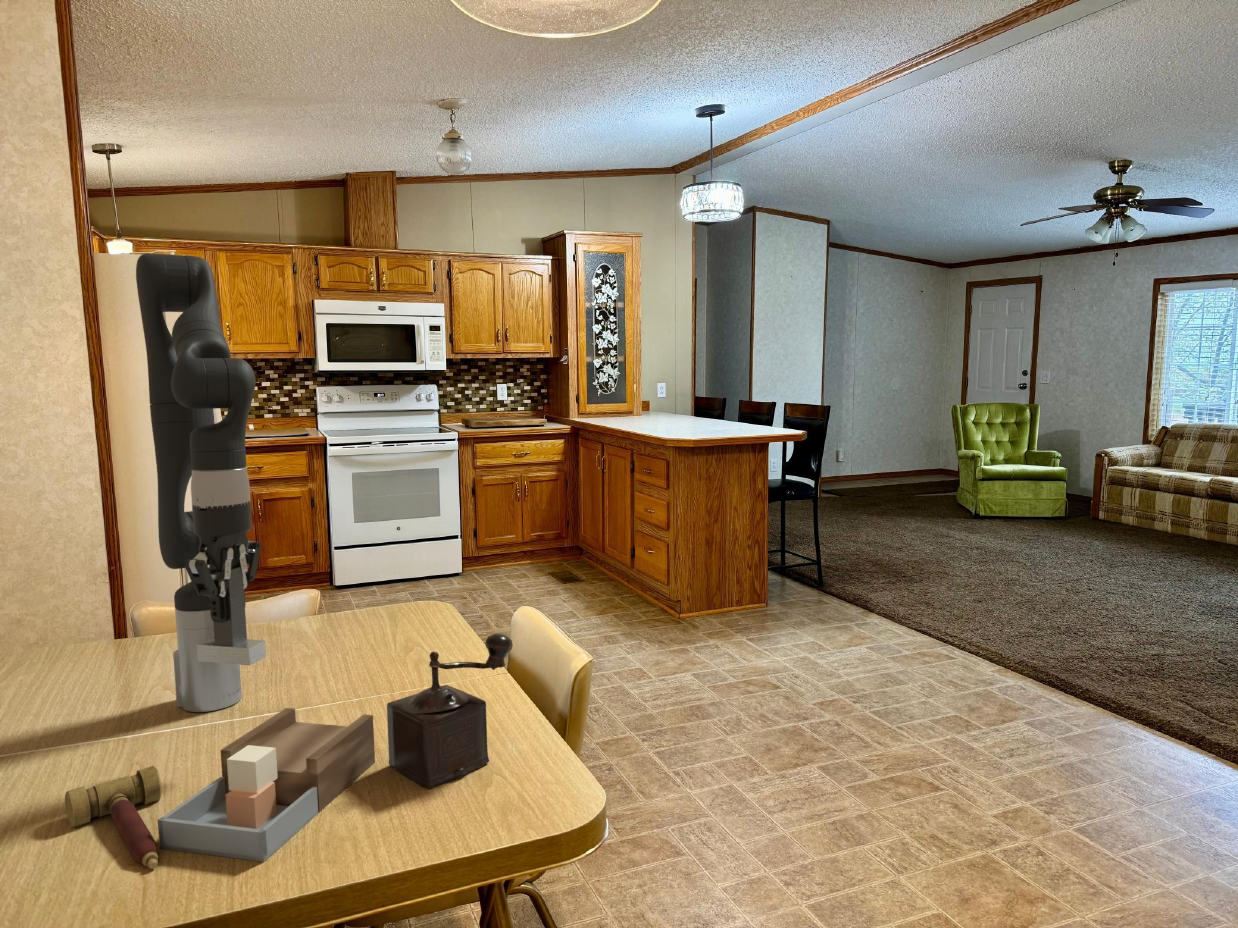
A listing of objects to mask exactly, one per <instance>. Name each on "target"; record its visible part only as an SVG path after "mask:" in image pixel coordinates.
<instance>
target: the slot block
mask: <svg viewBox="0 0 1238 928" xmlns="http://www.w3.org/2000/svg"><path fill="white" fill-rule="evenodd" d="M296 719H297V717H296V708H291V707H290V708H289V707H285V708H284V709H282V710H280V711H279V712H277V713H276V714H274V715H273V716H271V717H270V718H269V719H266V720H265V721H264V722H262V723H261V724H259V725H257V726H256V727H254V728H253V729H251V730H249V731H248V732H246V733H245V734H243V735H242V736H240V737H238V738H237V739H235V740H234V741H232V742H231V743H229V744H228V745H226V746H224V747H223V748H221V749H220V750H219V751H220V763H221V765H220V766H221V777H225V790H226V794H227V793H229V792H230V791H231V790H229V783H228V769H227V759H228V758H230V757H231V756H233V755H234V754H236V753H237V752H239V751H240V750H242V749H243V748H245V747H246V746H248V745H252V746H262V747H272V748H276V759H277V775H278V778H277V779H276V780H274V781H273V782H275V793H276V805H282V806H290V805H291V804H292V803H293V802H295V801H296V800H297V799H298V798H299V797H301V796H302V795H303V794H304V793H305V792H307V791H308V790H309V789H310V788H311V787H317V800H318V813H320V812H322V810H324V809H325V808H326V807H327V806H328V805H329V804H331V803H332V802H333V801H334V800H335V799H336V798H338V796H340V794H341V793H342V792H344V791H345V790H346V789H347V788H348V787H350V785H351V784H352V783H354V782H355V781H356V780H357V779H358V778H360V776H361V775H362V774H363V773H365V772H366V771H367V770H368V769H369V768H370V767H372V766H373V764H375V763H376V753H375V752H376V751H375V748H376V747H375V732H374V730H375V729H374V715H373V714H362V715H360V716H359V717H358V718H357V719H356V720H354V721H353V722H351V723H350V724H349V725H347V726H345V725H336V724H335V725H334V724H325V723H323V724H322V723H313V722H311V723H310V722H300V721H297V720H296Z"/></svg>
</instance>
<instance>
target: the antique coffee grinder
mask: <svg viewBox="0 0 1238 928" xmlns="http://www.w3.org/2000/svg"><path fill="white" fill-rule="evenodd" d="M485 647H486V649H487V652H488V657H487V660H486V661H485V662H474V661H456V662H447V663H446V662H445V663H443V662H442V663H441V662H440V660H439V658H440V657H439V656H440V655H439V653H438V652H437V651H431V652H430V654H429V660H430V661H429V664H428V666H429V667H430V668H431V679H432V681H431V683H432V684H431V686H430V687H428V688H426V689H425V688H424V689H423V690H421V691H419V692H418V693H415V694H411V695H408V696H405V697H402V698H399V699H396V700H393V701H389V702H387V704H386V717H387V719H386V720H387V721H386V722H387V743H388V764H389V767H390V768H392V769H393V770H394V771H395V772H398V773H399V774H401V775H402V776H403V777H406V778H407V779H409V780H410V781H412V782H414V783H415V784H417V785H418V786H420V787H422V788H425V789H428V790H429V789H432V788H435V787H437V786H440V785H443V784H446V783H448V782H451V781H453V780H456V779H458V778H459V779H460V778H461V777H463V776H465V775H467V774H469V773H471V772H473V771H475V770H477V769H479V768H481V767H483V766H484V765H486V764H488V763H489V762H490V758H489V754H488V753H489V751H488V726H487V702H486V700H484V699H482V698H481V697H477V696H475V695H472V694H471V693H468V692H466V691H463V690H461V689H459V688H456V687H453V686H450V685H448V684H444V685H440V680H439V679H440V678H439V669H443V670H453V669H468V668H469V669H481V670H486V669H491V670H493V671H495V670H496V669H498V668H500V669H501V668H504V667H506V663H505V658H506V656H507V655H508V654H509V653H510V652H511V651H512V650H513V647H514V646H513V641H512V639H511V638H510V637H508V635H505V634H504V633H503V634H502V633H494V634H491V635H489V636H487V638H486V639H485Z"/></svg>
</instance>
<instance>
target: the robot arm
mask: <svg viewBox="0 0 1238 928" xmlns="http://www.w3.org/2000/svg"><path fill="white" fill-rule="evenodd" d="M213 273H214V272H213V270H212V268H211V265H210V264H209V262H208V261H207V260H205V258H203V257H200V256H196V255H187V254H185V255H184V254H167V253H142V254H141V255H140V256H139V257H137V260H136V265H135V279H136V280H135V281H136V289H137V297H138V304H139V311H140V316H141V323H142V327H143V328H142V331H143V334H144V335H143V337H144V343H145V351H146V360H147V361H146V362H147V376H148V397H149V412H150V422H151V428H152V429H151V430H152V437H153V438H152V439H153V445H154V454H155V455H154V456H155V464H156V476H157V518H158V519H157V521H158V522H157V525H158V527H157V529H158V544H159V550H160V556H161V560H162V561H163V563H164V564H165V566H166V568H167V567H168V568H169V569H172V570H179V569H185V570H186V572H187V573H186V574H187V575H188V576H189V579H190V582H187V583H186V584H184V585H182V586H180V587H179V588H178V589H177V590H175V593H174V595H173V598H174V599H173V600H174V601H173V602H174V603H173V604H174V613H175V626H176V628H175V629H176V637H177V638H176V639H177V640H176V641H177V650H175V651H173V653H172V657H173V670H174V673H173V674H174V686H175V697H176V698H175V699H176V707H181V708H182V709H183V710H184V711H186V712H193V713H204V712H205V713H206V712H214V711H218V710H222V709H225V708H228V707H231V706H233V705H235V704H237V703H239V701H241V700H242V698H243V695H242V680H241V665H237V664H225V663H213V662H200V661H198V657H197V644H199V643H201V642H203V641H205V640H208V639H210V638H212V637H214V624H213V622H220V623H224V622H226V621H228V605H227V596H225V595H226V591H227V580H228V579H230V575H231V569H232V568H234V567H237V566H238V567H241V572H242V574H243V584H244V600H245V601H246V591H245V589H247V586H248V583H250V582H254V581H255V577H256V573H257V570H258V564H259V559H260V555H261V550H262V542H260V541H254V540H253V541H252V540H249V537H248V535H247V533H248V532H250V531H251V529H252V528H253V522H252V520H253V519H252V505H251V504H252V503H251V491H250V490H251V487H250V485H251V484H250V479H249V474H248V468H247V453H246V452H247V451H246V430H247V424H248V418H249V413H250V409H251V406H252V402H253V399H254V394H255V389H256V381H257V380H256V376H255V372H254V369H253V368H252V366H251V365H250V363H248V362H247V361H246V360H244V359H242V358H238V357H237V358H236V357H234V358H233V357H231V356H232V355H231V349H230V346H229V344H228V341H227V340H226V339H227V338H226V337H225V335H224V332H223V329H222V324H221V319H220V317H221V316H220V307H219V300H218V294H217V287H216V282H215V277H214V274H213ZM164 313H181V314H180V315H179V316H178V318H177V319H175V321H174V323H173V326H172V328H171V329H172V331H171V332H170V330H169V328H168V324H167V323H166V319H165V316H164ZM214 409H227V413H226V414H225V416H224V418H223V419H222V420H220V421H219V422H215V416H214V415H215V414H214ZM189 482H190V494H191V495H190V496H191V498H190V499H191V509H192V510H190V511H185V502H186V494H187V489H188V485H189ZM212 572H222V573H221V574H213V573H212ZM215 580H218V588H216V585H215ZM245 607H246V603H245Z"/></svg>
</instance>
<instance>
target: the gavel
mask: <svg viewBox="0 0 1238 928" xmlns="http://www.w3.org/2000/svg"><path fill="white" fill-rule="evenodd" d="M161 798H162V782H161V778H160V774H159V771H158V769H157V767H156V766H155V765H152V766H149V767H144V768H141V769H138V770H136V773H135V774H134V775H124V776H122V777H119V778H115V779H113V780H109V781H106V782H102V783H99V784H96V785H93V786H92V787H90V788H86V786H85V785H83V786H80V787H76V788H73V789H69V790H67V791H66V792H65V794H64V805H65V806H64V807H65V814H66V818H67V822H68V821H69V822H68V824H69V823H70V824H69V826H70V825H71V826H70V827H71V828H73V827H74V828H77V827H79V826H78V825H80V826H83V825H82V824H84V825H86V824H85V823H87V824H89V823H88V822H90V823H91V819H94V818H96V817H97V818H100V817H104V816H103V815H105V816H107V814H108V815H110V814H111V818H112V820H113V823H114V824H115V826H116V829H118V831H119V833H120V835H121V837H122V838H123V841H124V842H125V844H126V846H127V848H128V850H129V851H130V854H131V855H132V857H133V859H134V862H136V863H138V864H140V865H143V866H144V867H147V868H149V869H150V870H152V869H156V868H157V867H158V864H159V862H158V860H159V856H158V855H159V849H160V847H159V845H158V843H157V842H156V840H155V838H154V837H153V835H152V833H151V831H150V830H149V829H148V827H147V825H146V824H145V821H144V820H143V818H142V817H141V815H140V813H139V811H138V810H137V808H136V805H138V804H141V803H142V804H143V805H144V806H145V805H149V804H153V803H155V802H158V801H160V800H161ZM76 826H77V827H76Z"/></svg>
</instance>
